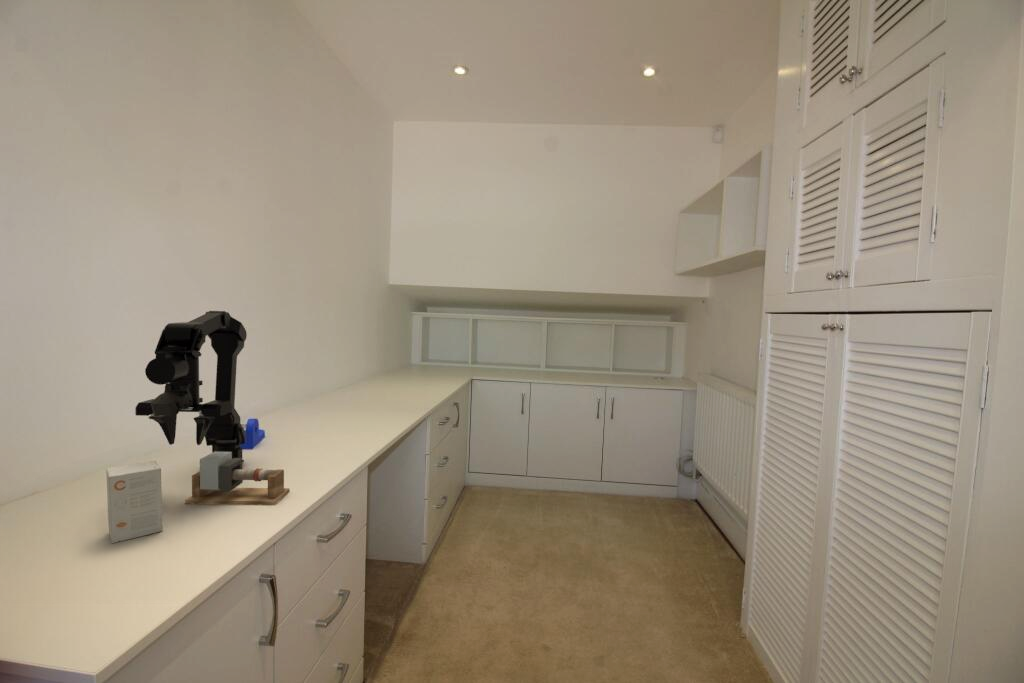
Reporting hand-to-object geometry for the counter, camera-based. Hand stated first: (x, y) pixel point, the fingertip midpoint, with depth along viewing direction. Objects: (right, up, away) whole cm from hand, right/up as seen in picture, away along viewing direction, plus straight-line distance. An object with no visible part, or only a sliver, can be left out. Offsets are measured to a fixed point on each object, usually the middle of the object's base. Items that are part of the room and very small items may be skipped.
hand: (185, 444), depth 114 cm
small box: (+2, -14, -17) cm, 22 cm away
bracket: (-11, -9, +47) cm, 50 cm away
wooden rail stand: (+12, -13, +1) cm, 17 cm away
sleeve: (+7, -10, +1) cm, 12 cm away
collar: (+10, -10, +1) cm, 14 cm away
